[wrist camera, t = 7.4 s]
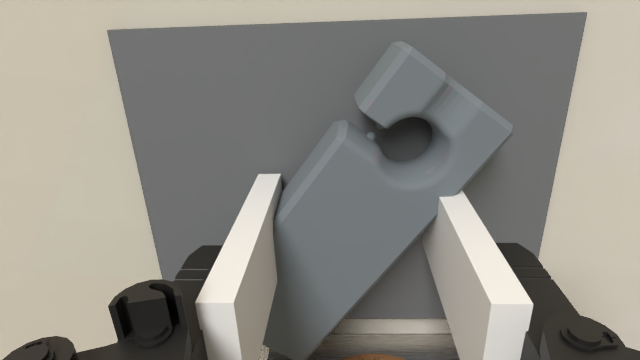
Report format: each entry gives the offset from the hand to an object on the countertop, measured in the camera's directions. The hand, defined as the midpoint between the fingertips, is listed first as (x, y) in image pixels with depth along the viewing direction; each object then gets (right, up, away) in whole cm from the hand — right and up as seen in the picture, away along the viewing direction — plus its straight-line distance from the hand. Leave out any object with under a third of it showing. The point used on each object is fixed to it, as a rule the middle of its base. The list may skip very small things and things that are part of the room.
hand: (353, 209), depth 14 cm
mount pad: (0, +1, 0) cm, 1 cm away
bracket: (-4, -1, +2) cm, 5 cm away
